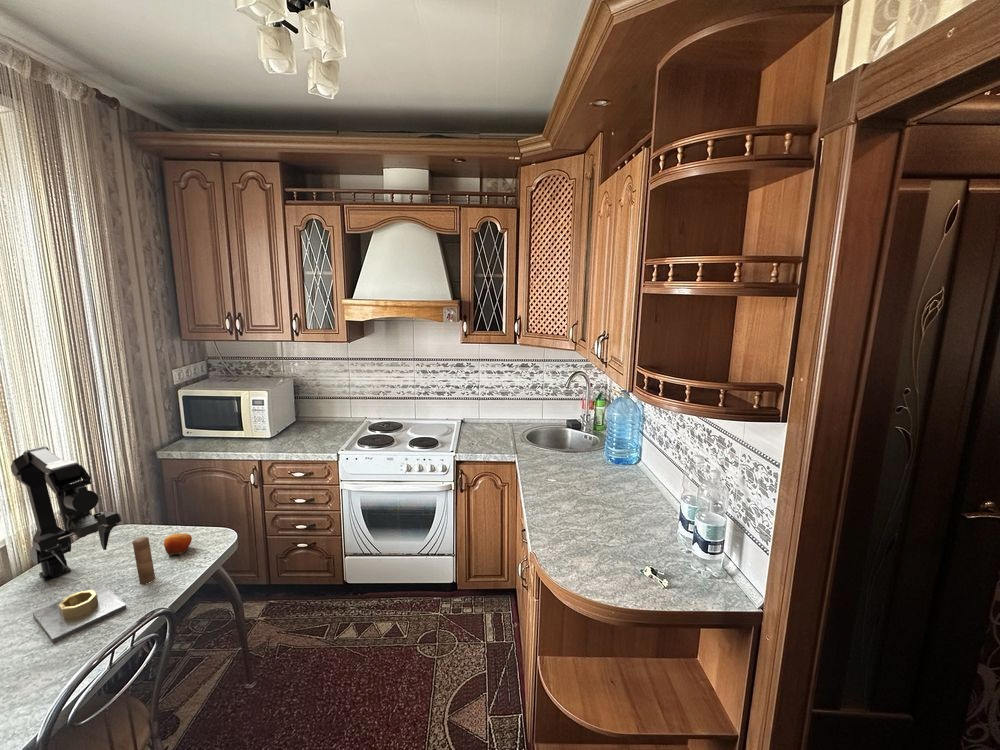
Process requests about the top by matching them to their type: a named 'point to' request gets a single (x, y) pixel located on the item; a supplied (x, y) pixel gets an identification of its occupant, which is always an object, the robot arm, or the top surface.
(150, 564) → the rail post
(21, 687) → the top surface
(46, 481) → the robot arm
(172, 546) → the fruit
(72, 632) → the cup bracket
